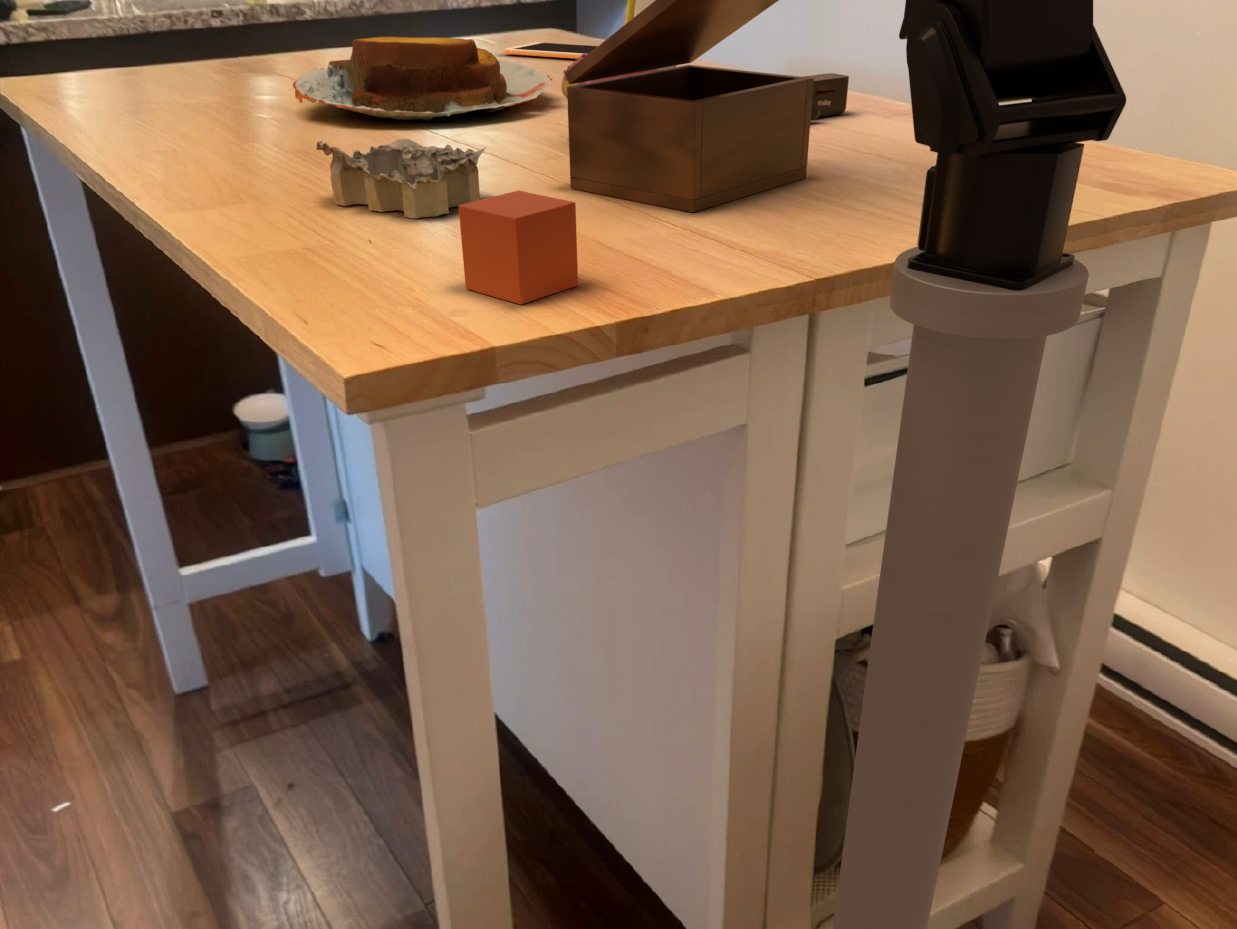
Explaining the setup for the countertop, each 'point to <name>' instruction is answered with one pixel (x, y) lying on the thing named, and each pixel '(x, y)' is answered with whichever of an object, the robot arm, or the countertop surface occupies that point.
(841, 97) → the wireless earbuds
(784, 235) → the countertop surface
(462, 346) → the countertop surface
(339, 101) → the food on plate
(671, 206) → the chest
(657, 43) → the lid
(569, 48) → the cell phone
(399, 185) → the egg carton
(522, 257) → the block
